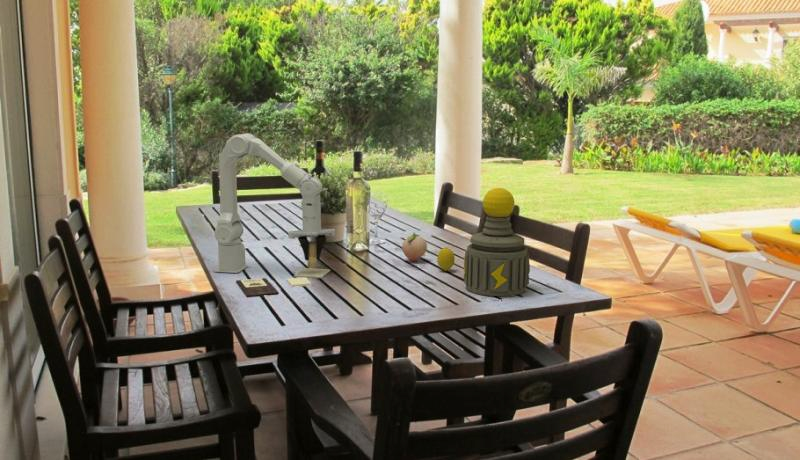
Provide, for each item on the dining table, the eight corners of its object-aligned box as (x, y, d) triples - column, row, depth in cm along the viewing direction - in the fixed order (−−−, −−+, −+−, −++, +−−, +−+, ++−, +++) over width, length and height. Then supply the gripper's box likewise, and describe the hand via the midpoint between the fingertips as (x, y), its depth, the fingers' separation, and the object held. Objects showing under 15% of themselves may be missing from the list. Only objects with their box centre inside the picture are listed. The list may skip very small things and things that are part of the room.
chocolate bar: (246, 295, 206) (235, 280, 222) (247, 298, 206) (236, 283, 222) (278, 292, 209) (265, 278, 225) (278, 295, 209) (265, 281, 225)
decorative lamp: (462, 280, 226) (464, 183, 221) (523, 281, 226) (527, 184, 220) (465, 297, 208) (468, 191, 202) (532, 298, 207) (537, 192, 202)
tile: (286, 278, 224) (291, 284, 217) (305, 277, 226) (311, 283, 219) (286, 282, 224) (291, 288, 217) (305, 280, 226) (311, 287, 219)
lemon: (445, 268, 242) (445, 244, 240) (457, 271, 238) (458, 247, 236) (433, 271, 238) (433, 246, 236) (446, 274, 234) (446, 249, 233)
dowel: (309, 265, 235) (308, 240, 233) (318, 266, 234) (318, 241, 232) (306, 267, 232) (305, 242, 230) (315, 268, 231) (315, 243, 229)
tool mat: (303, 269, 239) (303, 268, 239) (330, 270, 237) (330, 269, 237) (293, 276, 229) (293, 275, 229) (321, 278, 228) (321, 276, 228)
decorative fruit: (424, 265, 246) (424, 235, 244) (400, 263, 248) (400, 234, 246) (428, 259, 255) (429, 230, 253) (405, 257, 257) (405, 229, 255)
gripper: (291, 220, 224) (292, 263, 226) (337, 217, 229) (337, 260, 231) (286, 216, 230) (287, 258, 233) (331, 214, 235) (332, 255, 238)
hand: (312, 259), depth 232 cm, fingers closed on dowel, 3 cm apart
